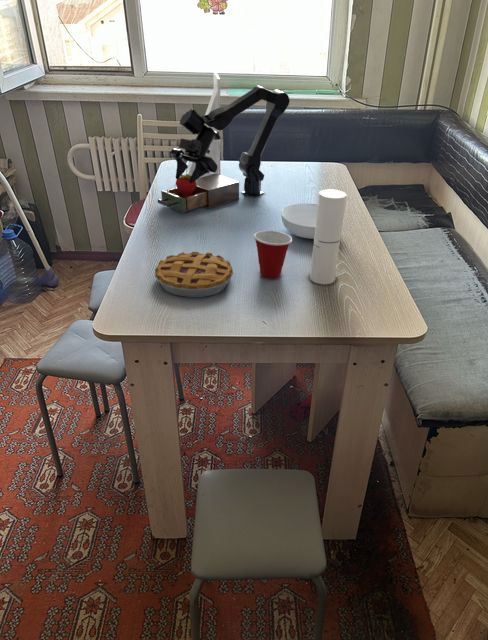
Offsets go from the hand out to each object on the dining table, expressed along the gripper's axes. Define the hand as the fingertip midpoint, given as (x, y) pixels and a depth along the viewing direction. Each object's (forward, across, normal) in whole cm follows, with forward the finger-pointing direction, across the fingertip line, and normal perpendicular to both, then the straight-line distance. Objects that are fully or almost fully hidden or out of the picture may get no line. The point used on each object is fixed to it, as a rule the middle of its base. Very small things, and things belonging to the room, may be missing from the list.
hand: (183, 180), depth 190 cm
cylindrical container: (+18, +69, -4) cm, 71 cm away
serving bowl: (0, +48, +15) cm, 50 cm away
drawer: (+6, 0, +7) cm, 9 cm away
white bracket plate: (-13, -17, +28) cm, 35 cm away
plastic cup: (+24, +56, -9) cm, 61 cm away
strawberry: (+4, 0, +6) cm, 7 cm away
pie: (+36, +42, -22) cm, 59 cm away
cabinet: (-3, +1, +17) cm, 17 cm away
